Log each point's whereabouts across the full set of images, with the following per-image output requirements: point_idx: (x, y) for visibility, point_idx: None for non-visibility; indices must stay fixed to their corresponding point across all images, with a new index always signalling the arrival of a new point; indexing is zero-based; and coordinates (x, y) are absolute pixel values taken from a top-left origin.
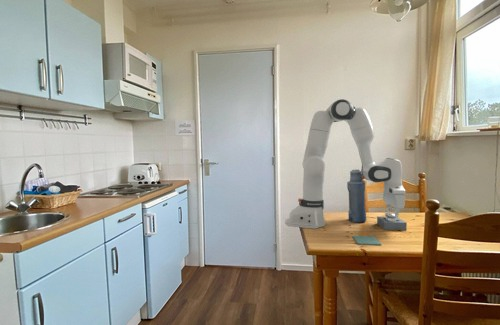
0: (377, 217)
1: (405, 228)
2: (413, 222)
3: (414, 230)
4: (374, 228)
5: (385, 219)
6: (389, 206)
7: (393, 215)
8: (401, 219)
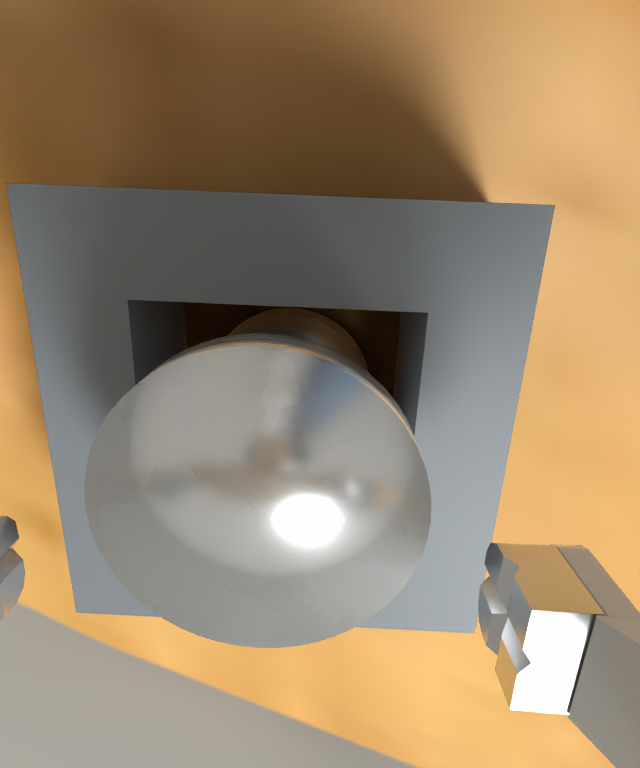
0: (526, 205)
1: None
2: (512, 748)
3: None
4: (135, 3)
5: (412, 362)
6: (636, 736)
7: (103, 506)
8: None
